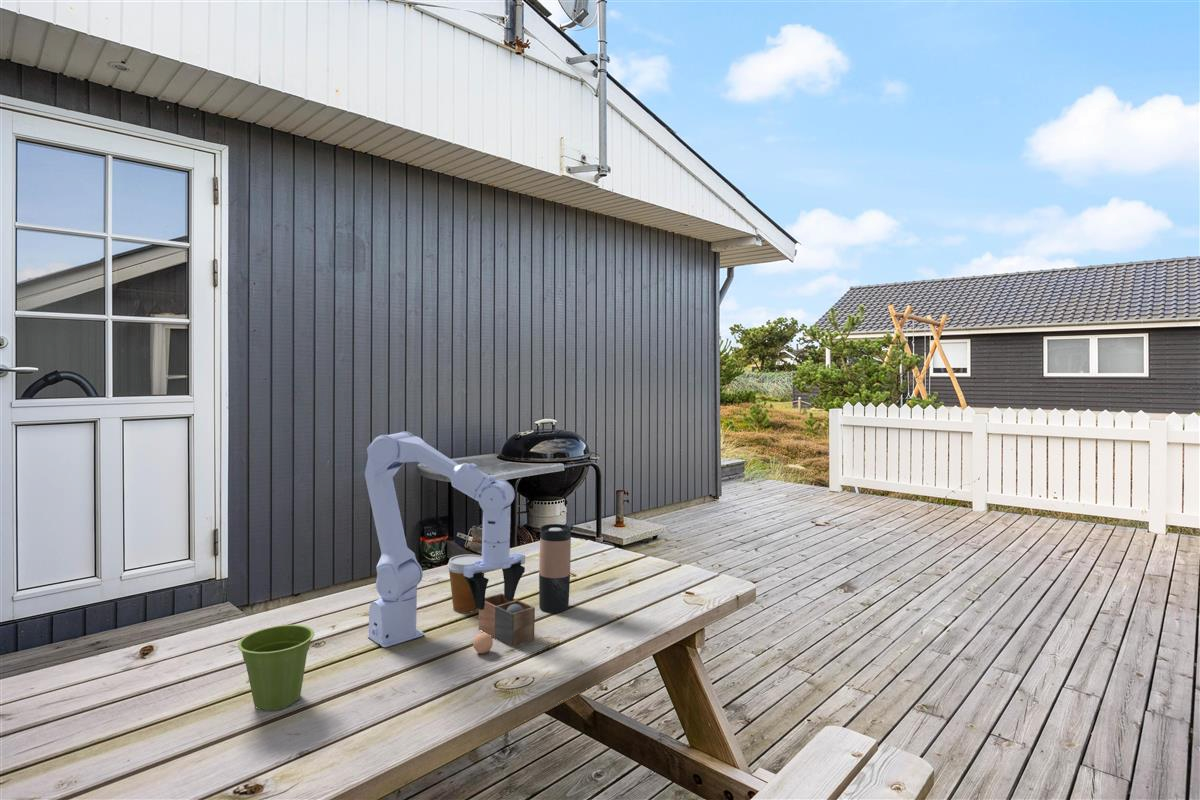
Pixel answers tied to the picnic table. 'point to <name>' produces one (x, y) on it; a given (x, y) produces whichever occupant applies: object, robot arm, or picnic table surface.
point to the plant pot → (276, 664)
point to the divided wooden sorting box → (507, 620)
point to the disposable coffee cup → (461, 582)
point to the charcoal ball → (514, 608)
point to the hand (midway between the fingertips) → (494, 603)
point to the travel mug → (554, 568)
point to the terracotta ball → (482, 643)
